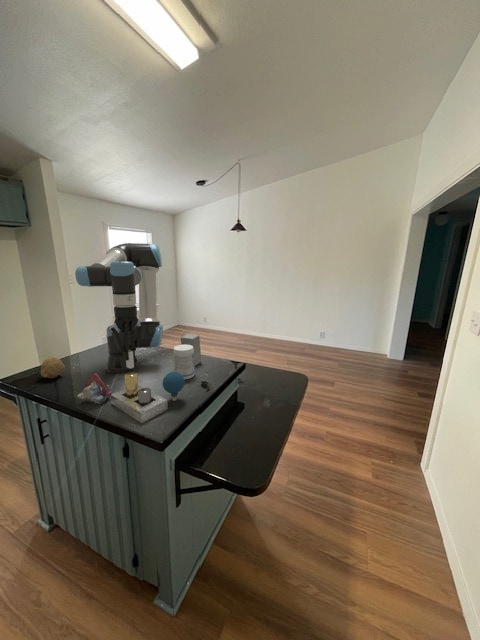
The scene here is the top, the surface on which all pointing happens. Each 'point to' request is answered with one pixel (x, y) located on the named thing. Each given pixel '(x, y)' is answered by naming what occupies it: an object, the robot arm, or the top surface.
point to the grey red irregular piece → (95, 391)
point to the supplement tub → (184, 360)
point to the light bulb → (173, 383)
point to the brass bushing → (131, 385)
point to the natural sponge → (52, 367)
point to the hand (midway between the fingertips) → (130, 367)
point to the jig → (140, 404)
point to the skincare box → (195, 342)
